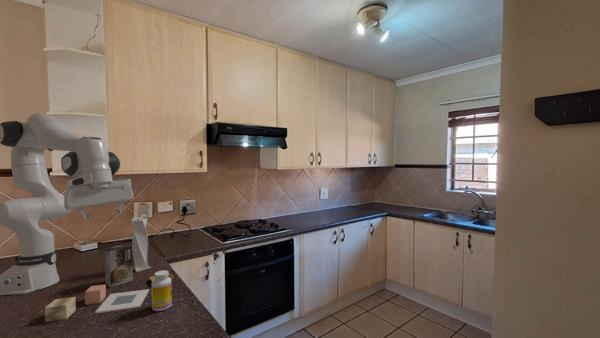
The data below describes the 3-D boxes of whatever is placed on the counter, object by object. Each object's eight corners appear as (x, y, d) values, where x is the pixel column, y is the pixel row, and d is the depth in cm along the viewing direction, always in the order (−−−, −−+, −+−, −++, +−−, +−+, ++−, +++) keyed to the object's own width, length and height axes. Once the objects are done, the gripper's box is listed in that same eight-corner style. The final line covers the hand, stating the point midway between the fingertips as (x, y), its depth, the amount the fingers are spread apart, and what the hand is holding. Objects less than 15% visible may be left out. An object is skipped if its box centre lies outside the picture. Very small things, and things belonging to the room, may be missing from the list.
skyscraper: (153, 269, 138) (152, 214, 137) (135, 274, 132) (134, 216, 131) (147, 265, 144) (146, 212, 143) (129, 269, 138) (128, 214, 137)
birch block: (45, 322, 91) (45, 307, 91) (55, 313, 97) (55, 299, 97) (66, 319, 93) (66, 305, 93) (75, 310, 99) (75, 296, 99)
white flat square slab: (95, 313, 96) (95, 311, 96) (110, 295, 110) (110, 293, 110) (139, 307, 100) (139, 305, 100) (149, 290, 114) (149, 289, 114)
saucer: (169, 276, 129) (169, 271, 129) (174, 282, 123) (174, 277, 123) (148, 281, 123) (148, 276, 123) (153, 287, 117) (153, 283, 117)
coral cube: (85, 304, 103) (84, 291, 102) (91, 298, 107) (91, 286, 107) (100, 302, 104) (100, 290, 104) (105, 296, 109) (105, 284, 109)
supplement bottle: (173, 308, 99) (172, 273, 99) (152, 314, 96) (152, 278, 96) (170, 300, 105) (170, 267, 105) (151, 305, 101) (150, 271, 101)
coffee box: (128, 277, 127) (127, 243, 127) (133, 280, 123) (132, 245, 123) (105, 283, 120) (104, 247, 120) (110, 288, 116) (109, 250, 116)
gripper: (128, 178, 108) (134, 212, 107) (60, 185, 94) (66, 224, 92) (132, 175, 103) (138, 210, 102) (61, 182, 89) (67, 223, 88)
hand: (103, 217), depth 97 cm, fingers open, 8 cm apart
